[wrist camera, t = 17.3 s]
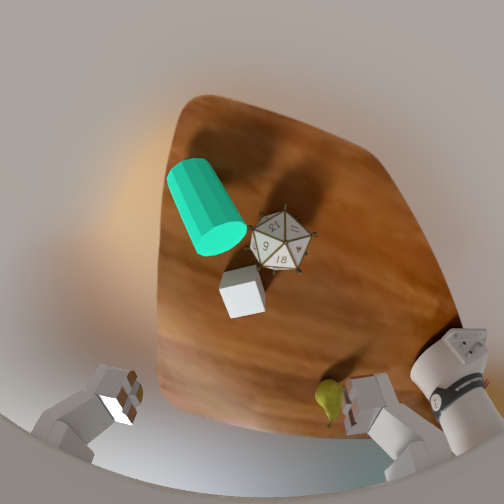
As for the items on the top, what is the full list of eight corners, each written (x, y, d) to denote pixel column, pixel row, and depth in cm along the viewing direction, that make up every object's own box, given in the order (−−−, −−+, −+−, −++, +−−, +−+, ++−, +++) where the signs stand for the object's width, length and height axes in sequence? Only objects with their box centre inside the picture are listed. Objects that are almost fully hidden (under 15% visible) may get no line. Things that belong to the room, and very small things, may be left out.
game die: (294, 179, 33) (342, 242, 29) (282, 218, 40) (320, 273, 36) (229, 202, 30) (274, 276, 26) (228, 241, 38) (263, 303, 34)
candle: (251, 237, 32) (212, 170, 36) (241, 212, 26) (198, 141, 31) (206, 262, 31) (174, 191, 36) (187, 242, 26) (155, 165, 31)
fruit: (338, 388, 51) (349, 433, 40) (312, 391, 51) (318, 437, 40) (342, 371, 48) (355, 418, 37) (314, 374, 49) (322, 423, 38)
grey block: (256, 264, 40) (255, 280, 35) (265, 292, 42) (265, 311, 37) (223, 272, 41) (219, 289, 36) (234, 299, 42) (230, 318, 38)
